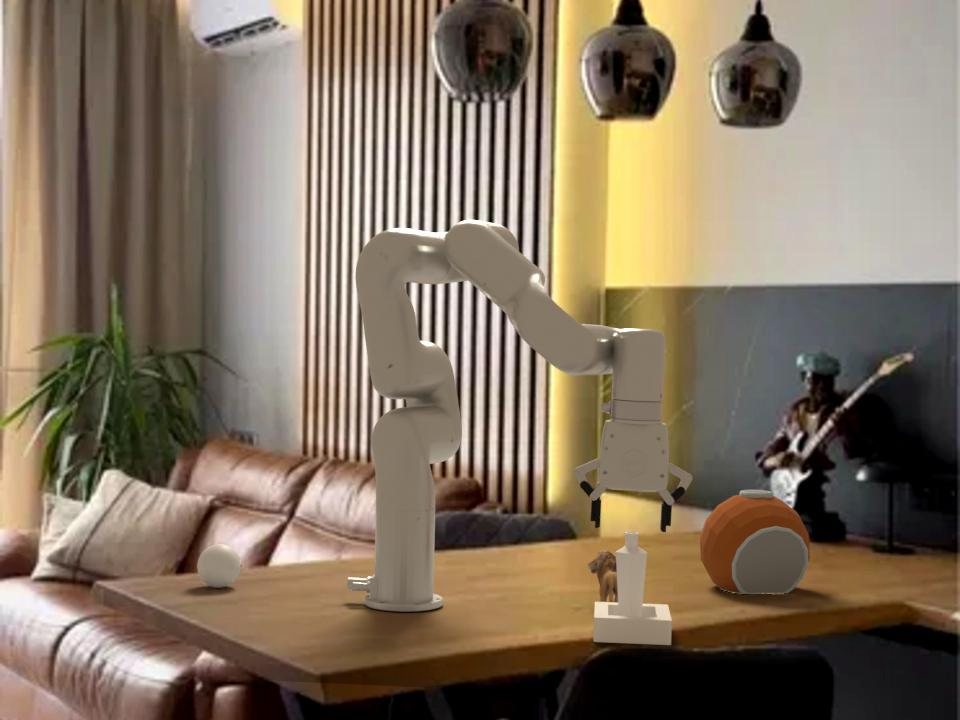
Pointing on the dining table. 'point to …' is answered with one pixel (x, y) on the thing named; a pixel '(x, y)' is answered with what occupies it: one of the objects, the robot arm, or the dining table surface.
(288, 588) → the dining table surface
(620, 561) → the perfume bottle
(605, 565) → the lion figurine
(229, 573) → the off-white rounded piece
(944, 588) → the dining table surface
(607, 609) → the white rectangular box
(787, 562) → the alarm clock
